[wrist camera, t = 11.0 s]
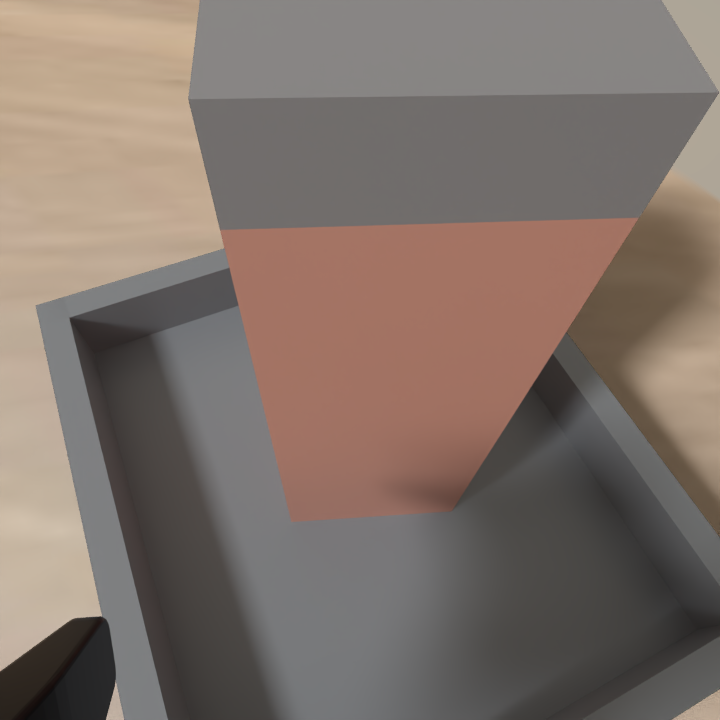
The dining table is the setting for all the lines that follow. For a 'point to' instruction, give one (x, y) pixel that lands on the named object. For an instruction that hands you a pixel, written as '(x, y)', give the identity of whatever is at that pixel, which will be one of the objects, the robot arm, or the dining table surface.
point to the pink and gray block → (424, 214)
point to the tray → (367, 542)
